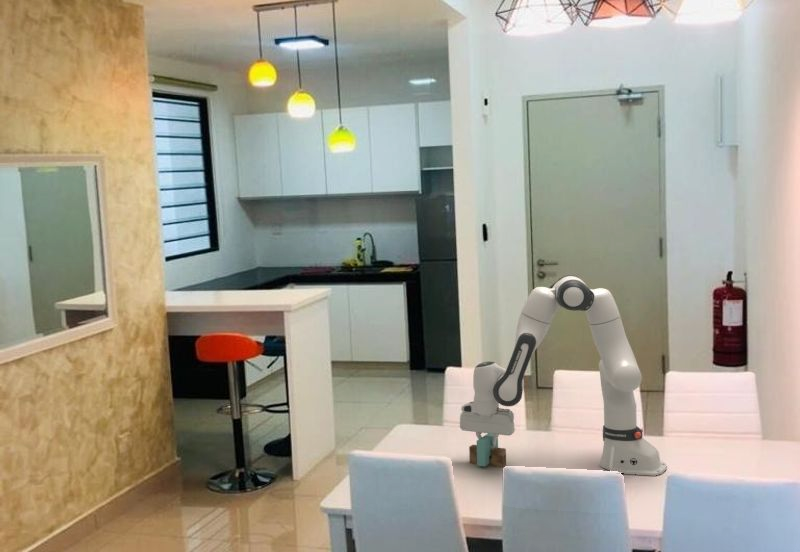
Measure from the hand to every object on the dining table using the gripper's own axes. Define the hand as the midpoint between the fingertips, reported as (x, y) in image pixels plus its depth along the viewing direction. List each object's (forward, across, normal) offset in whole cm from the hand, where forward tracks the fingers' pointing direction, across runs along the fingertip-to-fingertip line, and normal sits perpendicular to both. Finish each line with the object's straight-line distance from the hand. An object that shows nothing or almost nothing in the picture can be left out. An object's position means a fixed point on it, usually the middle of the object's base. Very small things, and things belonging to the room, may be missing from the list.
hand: (487, 444), depth 307 cm
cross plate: (+6, 0, 0) cm, 6 cm away
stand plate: (+7, 0, 0) cm, 7 cm away
